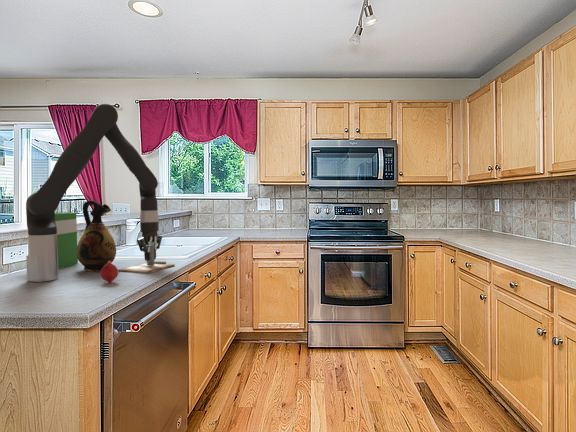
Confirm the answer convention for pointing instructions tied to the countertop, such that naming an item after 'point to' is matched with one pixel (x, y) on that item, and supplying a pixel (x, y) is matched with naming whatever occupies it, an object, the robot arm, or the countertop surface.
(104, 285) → the countertop surface
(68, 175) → the robot arm
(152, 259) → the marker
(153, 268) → the clipboard
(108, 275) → the onion
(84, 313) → the countertop surface
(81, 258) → the ceramic jug
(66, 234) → the hardback book
